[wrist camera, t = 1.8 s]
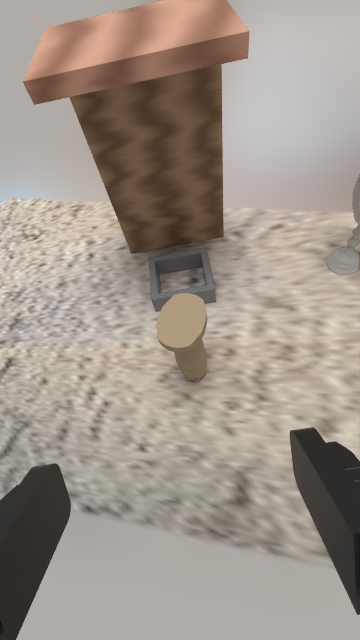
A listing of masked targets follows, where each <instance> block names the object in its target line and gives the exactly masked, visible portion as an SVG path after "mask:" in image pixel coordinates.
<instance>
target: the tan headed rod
mask: <svg viewBox="0 0 360 640" xmlns="http://www.w3.org/2000/svg"><path fill="white" fill-rule="evenodd" d="M206 324H207V314H206V308H205V304H204V300H203V299H202V298H200V297H199V296H197V295H194V294H189V293H180V294H176V295H174V296H173V297H171V298H170V299H169V300H168V301H167V302H166V303H165V305H164V306H163V307H162V309H161V311H160V314H159V317H158V319H157V325H156V328H157V335H158V340H159V342H160V344H161V345H162V346H163V347H164V348H166V349H168V350H170V351H173V352H175V357H176V361H177V363H178V366H179V368H180V370H181V371H182V373H183V374H184V375H185V377H186V378H187V379H188V380H194V381H195V382H197V381H199V379H200V378H201V377H202V376H205V374H206V364H207V359H206V351H205V348H204V345H203V341H202V337H203V335H204V332H205V329H206Z"/></svg>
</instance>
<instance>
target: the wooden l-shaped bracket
mask: <svg viewBox="0 0 360 640" xmlns="http://www.w3.org/2000/svg"><path fill="white" fill-rule="evenodd" d="M248 46H249V30H248V29H247V27H246V26H245V25H244V23H243V22H242V20H241V19H240V18H239V16H238V15H237V14H236V12H235V11H234V9H233V8H232V7H231V5H230V4H229V3H228V1H227V0H163V1H159V2H155V3H151V4H146V5H142V6H138V7H133V8H129V9H125V10H121V11H116V12H112V13H108V14H103V15H100V16H95V17H91V18H86V19H82V20H78V21H74V22H70V23H65V24H61V25H57V26H52V27H48V28H46V30H45V32H44V34H43V36H42V39H41V41H40V43H39V46H38V48H37V50H36V52H35V55H34V57H33V59H32V62H31V64H30V66H29V68H28V71H27V73H26V76H25V78H24V80H23V83H24V85H25V87H26V89H27V91H28V93H29V95H30V97H31V99H32V101H33V103H34V104H39V103H44V102H49V101H53V100H58V99H62V98H67V97H70V100H71V102H72V104H73V107H74V109H75V112H76V115H77V117H78V120H79V122H80V125H81V127H82V130H83V132H84V135H85V137H86V140H87V143H88V145H89V148H90V150H91V153H92V155H93V158H94V160H95V163H96V165H97V168H98V170H99V173H100V175H101V178H102V180H103V183H104V185H105V188H106V190H107V193H108V196H109V198H110V200H111V203H112V206H113V208H114V211H115V213H116V216H117V218H118V221H119V223H120V226H121V228H122V231H123V233H124V236H125V238H126V241H127V243H128V246H129V249H130V251H131V253H136V252H141V251H147V250H152V249H158V248H163V247H169V246H174V245H180V244H185V243H191V242H196V241H202V240H207V239H213V238H218V237H223V171H222V170H223V164H222V163H223V162H222V79H221V78H222V74H221V64H223V63H227V62H232V61H237V60H242V59H246V58H248Z"/></svg>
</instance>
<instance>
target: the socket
mask: <svg viewBox="0 0 360 640" xmlns="http://www.w3.org/2000/svg"><path fill="white" fill-rule="evenodd" d="M198 267H203V272H204V277H205V282H206V285H205V286H200V287H194V288H188V289H182V290H176V291H170V292H165V293H161V292H160V281H159V274H163V273H169V272H175V271H181V270H186V269H192V268H198ZM149 268H150V283H151V297H152V302H153V305H154V307H155V310H156V312H158V311H161V309H162V307H163V306H164V305H165V303H166V302H167V301H168V300H169V299H170V298H171V297H173V296H174V295H176V294H180V293H189V294H194V295H197V296H199V297H200V298H202V299H203V300H204V304H206V303H212V302H216V300H215V287H214V283H213V278H212V273H211V269H210V264H209V260H208V255H207V250H206V248H201V249H196V250H190V251H184V252H179V253H173V254H168V255H162V256H157V257H151V258H149Z"/></svg>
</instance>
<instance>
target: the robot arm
mask: <svg viewBox="0 0 360 640" xmlns="http://www.w3.org/2000/svg"><path fill="white" fill-rule="evenodd" d="M290 443H291V452H292V461H293V470H294V475H295V479H296V483H297V486H298V489H299V491H300V493H301V495H302V498H303V500H304V502H305V504H306V506H307V508H308V510H309V513H310V515H311V517H312V519H313V521H314V523H315V525H316V527H317V530H318V532H319V534H320V536H321V538H322V540H323V542H324V545H325V547H326V549H327V551H328V553H329V555H330V557H331V559H332V562H333V564H334V566H335V568H336V570H337V572H338V574H339V576H340V579H341V581H342V583H343V585H344V587H345V589H346V591H347V593H348V596H349V598H350V600H351V602H352V604H353V606H354V609H355V610H356V613H357V614H360V461H359V460H358V459H357V458H356V456H355V455H354V454H353V453H352V452H351V451H350V450H348V449H347V448H345V447H344V446H342V445H340V444H339V443H337V442H329V443H325V441H324V440H323V438H322V437H321V436H320V434H319V433H318V432H317V430H316V429H315V428H314V427H312V428H305V429H298V430H291V431H290ZM70 510H71V503H70V498H69V495H68V492H67V488H66V485H65V482H64V479H63V476H62V473H61V470H60V467H59V466H58V465H57V464H49V465H42V466H35V467H33V468H31V469H30V471H29V472H28V473H27V475H26V476H25V478H24V479H23V480H22V482H21V483H20V485H17V486H16V487H14V488H13V489H12V490H11V491H10V492H9V493H8V494H7V495H5V496H4V497H3V498H2V499H1V500H0V640H16V638H17V636H18V634H19V631H20V629H21V627H22V624H23V622H24V620H25V618H26V615H27V613H28V611H29V608H30V606H31V604H32V602H33V599H34V597H35V595H36V593H37V590H38V588H39V586H40V583H41V581H42V579H43V577H44V574H45V572H46V570H47V568H48V565H49V563H50V560H51V559H52V556H53V554H54V552H55V550H56V547H57V545H58V543H59V540H60V538H61V536H62V533H63V531H64V529H65V527H66V525H67V522H68V520H69V516H70Z"/></svg>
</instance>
